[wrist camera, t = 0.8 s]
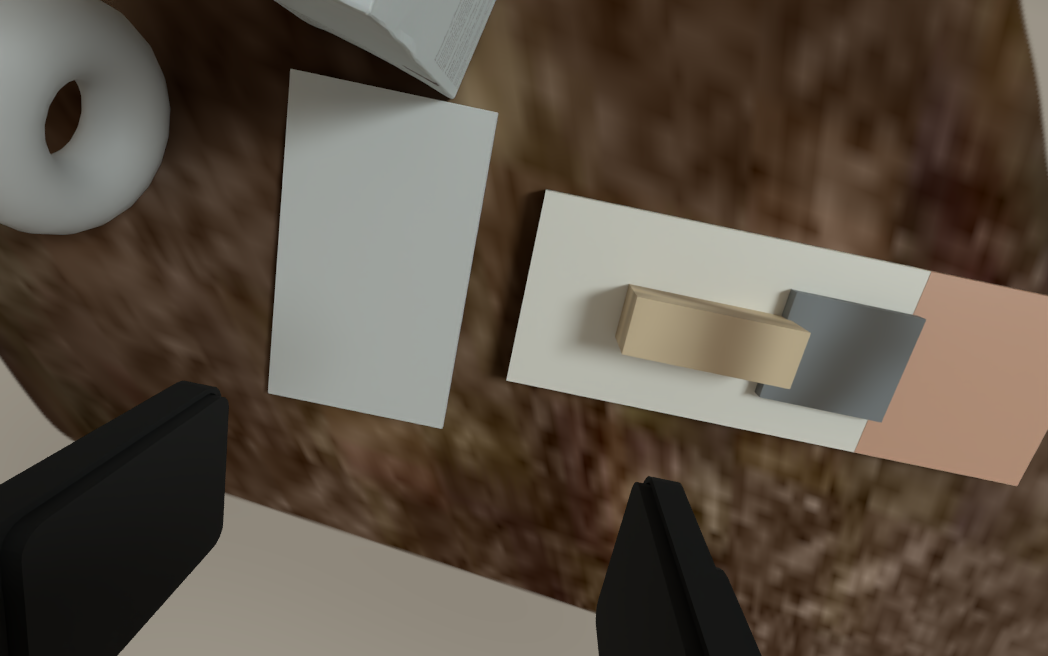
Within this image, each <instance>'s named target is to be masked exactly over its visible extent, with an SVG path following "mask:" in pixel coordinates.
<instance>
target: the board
mask: <svg viewBox="0 0 1048 656" xmlns="http://www.w3.org/2000/svg"><path fill="white" fill-rule="evenodd" d="M629 284H632V285H637V286H641V287H646V288H651V289H656V290H660V291H665V292H670V293H675V294H679V295H684V296H689V297H694V298H699V299H703V300H708V301H713V302H718V303H722V304H727V305H732V306H737V307H741V308H746V309H751V310H756V311H761V312H765V313H770V314H775V315H780V316H782V313H783V310H784V307H785V304H786V302H787V299H788V296H789V293H790V290H791V289H793V290H798V291H803V292H807V293H812V294H817V295H822V296H826V297H831V298H836V299H841V300H845V301H850V302H855V303H860V304H864V305H869V306H874V307H879V308H883V309H888V310H893V311H898V312H903V313H907V314H912V315H917V316H919V317H922V318H924V319H926V322H925V324H924V326H923V329H922V331H921V333H920V336H919V338H918V340H917V342H916V345H915V347H914V349H913V352H912V354H911V356H910V358H909V361H908V363H907V365H906V368H905V370H904V372H903V374H902V377H901V379H900V381H899V384H898V386H897V388H896V390H895V393H894V395H893V397H892V400H891V402H890V404H889V406H888V409H887V411H886V413H885V416H884V418H883V420H882V423H881V422H876V421H871V420H866V419H862V418H857V417H852V416H847V415H842V414H838V413H833V412H828V411H823V410H818V409H814V408H809V407H804V406H799V405H794V404H789V403H785V402H780V401H775V400H770V399H765V398H761V397H759V396H758V395H757V394H756V393H755V389H756V386H757V382H752V381H748V380H743V379H738V378H733V377H728V376H724V375H719V374H714V373H709V372H704V371H700V370H695V369H690V368H685V367H680V366H676V365H671V364H666V363H661V362H656V361H651V360H647V359H642V358H637V357H632V356H627V355H623V354H622V353H621V351H620V348H619V345H618V343H617V340H616V338H615V335H616V331H617V327H618V323H619V320H620V316H621V312H622V308H623V304H624V301H625V297H626V293H627V289H628V286H629ZM506 381H511V382H516V383H521V384H526V385H531V386H535V387H540V388H545V389H550V390H555V391H560V392H565V393H569V394H574V395H579V396H584V397H589V398H594V399H598V400H603V401H608V402H613V403H618V404H623V405H627V406H632V407H637V408H642V409H647V410H652V411H657V412H661V413H666V414H671V415H676V416H681V417H686V418H690V419H695V420H700V421H705V422H710V423H715V424H720V425H724V426H729V427H734V428H739V429H744V430H749V431H753V432H758V433H763V434H768V435H773V436H778V437H782V438H787V439H792V440H797V441H802V442H807V443H812V444H816V445H821V446H826V447H831V448H836V449H841V450H845V451H850V452H854V453H859V454H864V455H869V456H874V457H879V458H883V459H888V460H893V461H898V462H903V463H908V464H912V465H917V466H922V467H927V468H932V469H937V470H942V471H946V472H951V473H956V474H961V475H966V476H971V477H975V478H980V479H985V480H990V481H995V482H1000V483H1005V484H1009V485H1014V486H1017V485H1018V483H1019V482H1020V480H1021V478H1022V476H1023V474H1024V472H1025V470H1026V469H1027V467H1028V465H1029V463H1030V461H1031V459H1032V457H1033V456H1034V454H1035V452H1036V450H1037V448H1038V446H1039V444H1040V443H1041V441H1042V439H1043V437H1044V435H1045V433H1046V431H1047V430H1048V295H1045V294H1040V293H1035V292H1030V291H1026V290H1021V289H1016V288H1011V287H1007V286H1002V285H997V284H993V283H988V282H983V281H978V280H974V279H969V278H964V277H959V276H955V275H950V274H945V273H940V272H936V271H931V270H926V269H922V268H917V267H912V266H907V265H903V264H898V263H893V262H888V261H884V260H879V259H874V258H869V257H865V256H860V255H855V254H851V253H846V252H841V251H836V250H832V249H827V248H822V247H817V246H813V245H808V244H803V243H798V242H794V241H789V240H784V239H780V238H775V237H770V236H765V235H761V234H756V233H751V232H746V231H742V230H737V229H732V228H727V227H723V226H718V225H713V224H709V223H704V222H699V221H694V220H690V219H685V218H680V217H675V216H671V215H666V214H661V213H656V212H652V211H647V210H642V209H638V208H633V207H628V206H623V205H619V204H614V203H609V202H604V201H600V200H595V199H590V198H585V197H581V196H576V195H571V194H567V193H562V192H557V191H552V190H548V189H546V192H545V197H544V201H543V206H542V211H541V216H540V221H539V226H538V230H537V235H536V240H535V245H534V250H533V254H532V259H531V264H530V269H529V274H528V278H527V283H526V288H525V293H524V298H523V302H522V307H521V312H520V317H519V322H518V327H517V331H516V336H515V341H514V346H513V351H512V355H511V360H510V365H509V370H508V375H507V379H506Z"/></svg>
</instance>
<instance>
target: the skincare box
mask: <svg viewBox="0 0 1048 656" xmlns="http://www.w3.org/2000/svg"><path fill="white" fill-rule="evenodd" d="M274 1H276V2H277V3H279V4H280V5H281V6H283V7H284V8H286V9H287V10H289V11H290V12H292V13H293V14H295V15H296V16H297V17H299V18H300V19H302V20H303V21H305V22H307V23H308V24H310V25H313V26H315V27H317V28H320V29H323V30H325V31H327V32H330V33H332V34H334V35H336V36H338V37H340V38H342V39H344V40H346V41H348V42H350V43H352V44H354V45H356V46H358V47H360V48H362V49H364V50H366V51H368V52H370V53H372V54H373V55H375V56H377V57H379V58H381V59H383V60H385V61H387V62H388V63H390V64H392V65H394V66H396V67H398V68H399V69H401V70H403V71H405V72H406V73H408V74H410V75H412V76H413V77H415V78H417V79H419V80H421V81H422V82H424V83H426V84H427V85H429V86H430V87H432V88H433V89H435V90H437V91H438V92H440V93H441V94H443V95H445V96H446V97H448V98H450V99H454V97H455V95H456V93H457V91H458V88H459V86H460V83H461V81H462V79H463V76H464V74H465V72H466V69H467V67H468V65H469V62H470V60H471V57H472V55H473V53H474V50H475V48H476V46H477V43H478V41H479V39H480V36H481V34H482V32H483V29H484V27H485V25H486V22H487V20H488V17H489V15H490V13H491V10H492V8H493V6H494V3H495V1H496V0H274Z"/></svg>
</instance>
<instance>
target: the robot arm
mask: <svg viewBox="0 0 1048 656" xmlns="http://www.w3.org/2000/svg"><path fill="white" fill-rule="evenodd" d="M228 411H229V405H228V401H227V399H226V398H225V397H221V394H220V391H219V389H218V388H216V387H212V386H207V385H202V384H197V383H193V382H188V381H180V382H177V383H176V384H174V385H172V386H171V387H169V388H167V389H165V390H164V391H162V392H160V393H158V394H157V395H155V396H153V397H151V398H150V399H148V400H146V401H144V402H143V403H141V404H139V405H138V406H136V407H134V408H132V409H131V410H129V411H127V412H125V413H124V414H122V415H120V416H118V417H117V418H115V419H113V420H112V421H110V422H108V423H106V424H105V425H103V426H101V427H99V428H98V429H96V430H94V431H92V432H91V433H89V434H87V435H86V436H84V437H82V438H80V439H79V440H77V441H75V442H73V443H72V444H70V445H68V446H66V447H65V448H63V449H61V450H60V451H58V452H56V453H54V454H53V455H51V456H49V457H47V458H46V459H44V460H42V461H41V462H39V463H37V464H35V465H33V466H32V467H30V468H28V469H27V470H25V471H23V472H22V473H20V474H18V475H16V476H15V477H13V478H11V479H9V480H7V481H6V482H4V483H2V484H0V656H117V655H118V654H119V653H120V652H121V651H122V650H123V649H124V647H125V646H126V645H127V644H128V643H129V642H130V641H131V640H132V638H133V637H134V636H135V635H136V634H137V633H138V631H140V629H141V628H142V627H143V626H144V625H145V624H146V623H147V622H148V620H149V619H150V618H151V617H152V616H153V615H154V613H155V612H156V611H157V610H158V609H159V608H160V607H161V606H162V605H163V603H164V602H165V601H166V600H167V599H168V598H169V597H170V595H171V594H172V593H173V592H174V591H175V590H176V589H177V588H178V587H179V585H180V584H181V583H182V582H183V581H184V580H185V579H186V577H187V576H188V575H189V574H190V573H191V572H192V571H193V570H194V568H195V567H196V566H197V565H198V564H199V563H200V562H201V561H202V559H203V558H204V557H205V556H206V555H207V554H208V553H209V552H210V550H211V549H212V548H213V547H214V546H215V544H216V543H217V541H218V539H219V537H220V534H221V531H222V528H223V515H224V494H225V473H226V453H227V432H228ZM596 630H597V640H598V650H599V656H761V653H760V651H759V649H758V647H757V644H756V642H755V640H754V637H753V635H752V633H751V630H750V628H749V626H748V623H747V621H746V619H745V616H744V614H743V612H742V610H741V607H740V605H739V603H738V600H737V598H736V596H735V593H734V591H733V589H732V586H731V584H730V582H729V579H728V577H727V576H726V574H725V573H724V571H723V570H721V569H720V568H717V567H715V564H714V562H713V559H712V557H711V555H710V552H709V550H708V547H707V545H706V543H705V540H704V538H703V535H702V533H701V530H700V528H699V526H698V523H697V521H696V518H695V516H694V514H693V511H692V509H691V506H690V504H689V501H688V499H687V497H686V494H685V492H684V489H683V487H682V485H681V484H680V483H679V482H674V481H670V480H665V479H660V478H655V477H650V476H648V477H647V478H646V479H645V481H644V483H639V482H635V483H634V485H633V487H632V490H631V493H630V496H629V500H628V503H627V506H626V510H625V513H624V516H623V520H622V523H621V526H620V530H619V533H618V536H617V540H616V543H615V546H614V550H613V553H612V556H611V560H610V563H609V566H608V570H607V573H606V576H605V580H604V583H603V586H602V590H601V593H600V596H599V600H598V604H597V610H596Z"/></svg>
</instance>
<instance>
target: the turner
mask: <svg viewBox="0 0 1048 656" xmlns="http://www.w3.org/2000/svg"><path fill="white" fill-rule="evenodd" d="M925 322H926V319H924V318H922V317H919V316H917V315H912V314H907V313H903V312H898V311H893V310H888V309H883V308H879V307H874V306H869V305H864V304H860V303H855V302H850V301H845V300H841V299H836V298H831V297H826V296H822V295H817V294H812V293H807V292H803V291H798V290H793V289H791V290H790V293H789V296H788V299H787V302H786V304H785V307H784V310H783V313H782V316H780V315H775V314H770V313H765V312H761V311H756V310H751V309H746V308H741V307H737V306H732V305H727V304H722V303H718V302H713V301H708V300H703V299H699V298H694V297H689V296H684V295H679V294H675V293H670V292H665V291H660V290H656V289H651V288H646V287H641V286H637V285H632V284H629V286H628V289H627V293H626V297H625V301H624V304H623V308H622V312H621V316H620V320H619V323H618V327H617V331H616V335H615V338H616V340H617V343H618V345H619V348H620V351H621V353H622V354H623V355H627V356H632V357H637V358H642V359H647V360H651V361H656V362H661V363H666V364H671V365H676V366H680V367H685V368H690V369H695V370H700V371H704V372H709V373H714V374H719V375H724V376H728V377H733V378H738V379H743V380H748V381H752V382H757V386H756V389H755V393H756V394H757V395H758V396H759V397H761V398H765V399H770V400H775V401H780V402H785V403H789V404H794V405H799V406H804V407H809V408H814V409H818V410H823V411H828V412H833V413H838V414H842V415H847V416H852V417H857V418H862V419H866V420H871V421H876V422H881V423H882V420H883V418H884V416H885V413H886V411H887V409H888V406H889V404H890V402H891V400H892V397H893V395H894V393H895V390H896V388H897V386H898V384H899V381H900V379H901V377H902V374H903V372H904V370H905V368H906V365H907V363H908V361H909V358H910V356H911V354H912V352H913V349H914V347H915V345H916V342H917V340H918V338H919V336H920V333H921V331H922V329H923V326H924V324H925Z"/></svg>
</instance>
